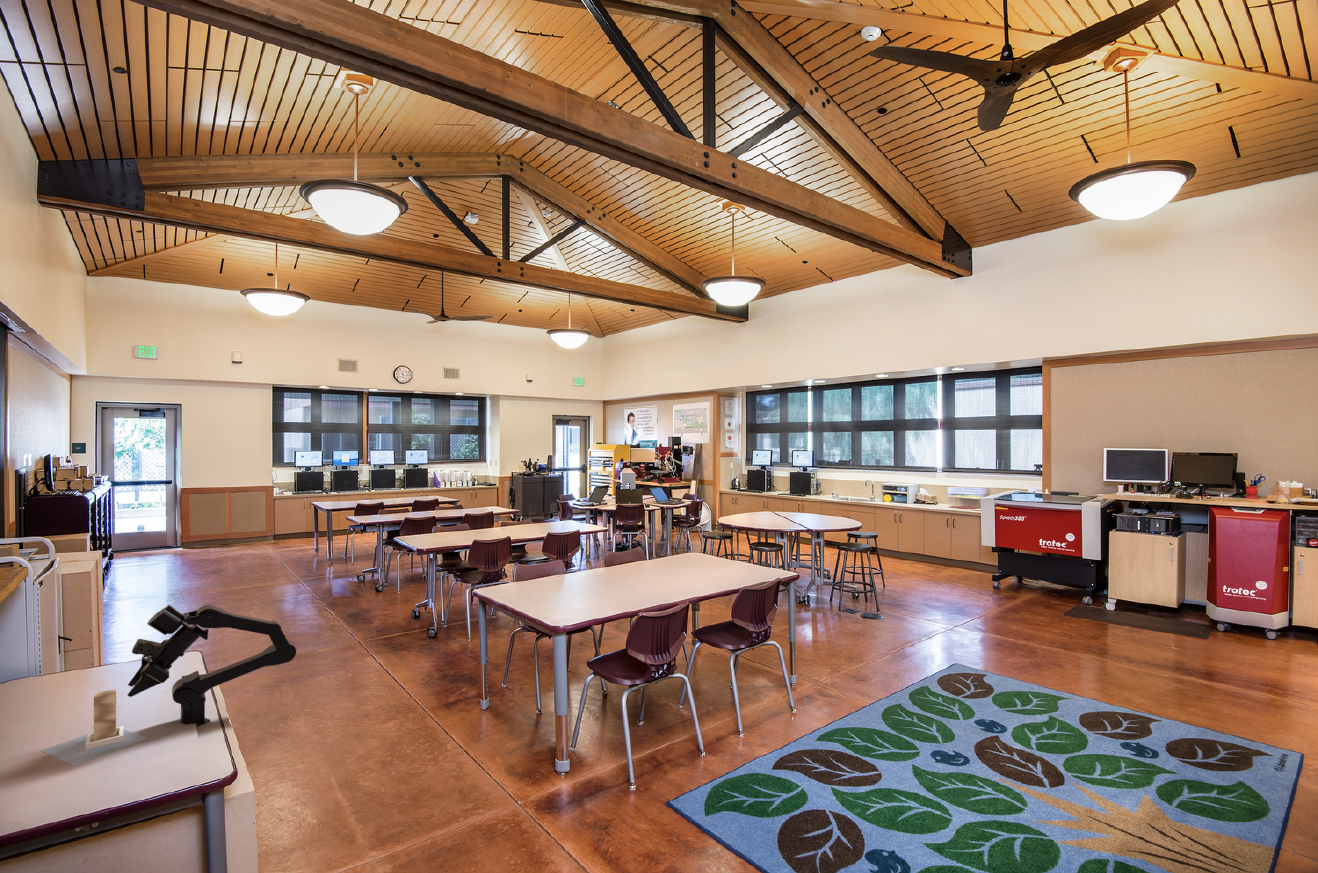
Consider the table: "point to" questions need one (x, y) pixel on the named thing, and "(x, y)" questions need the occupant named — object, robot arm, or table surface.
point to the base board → (77, 754)
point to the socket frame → (104, 741)
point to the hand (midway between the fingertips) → (129, 691)
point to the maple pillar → (104, 714)
